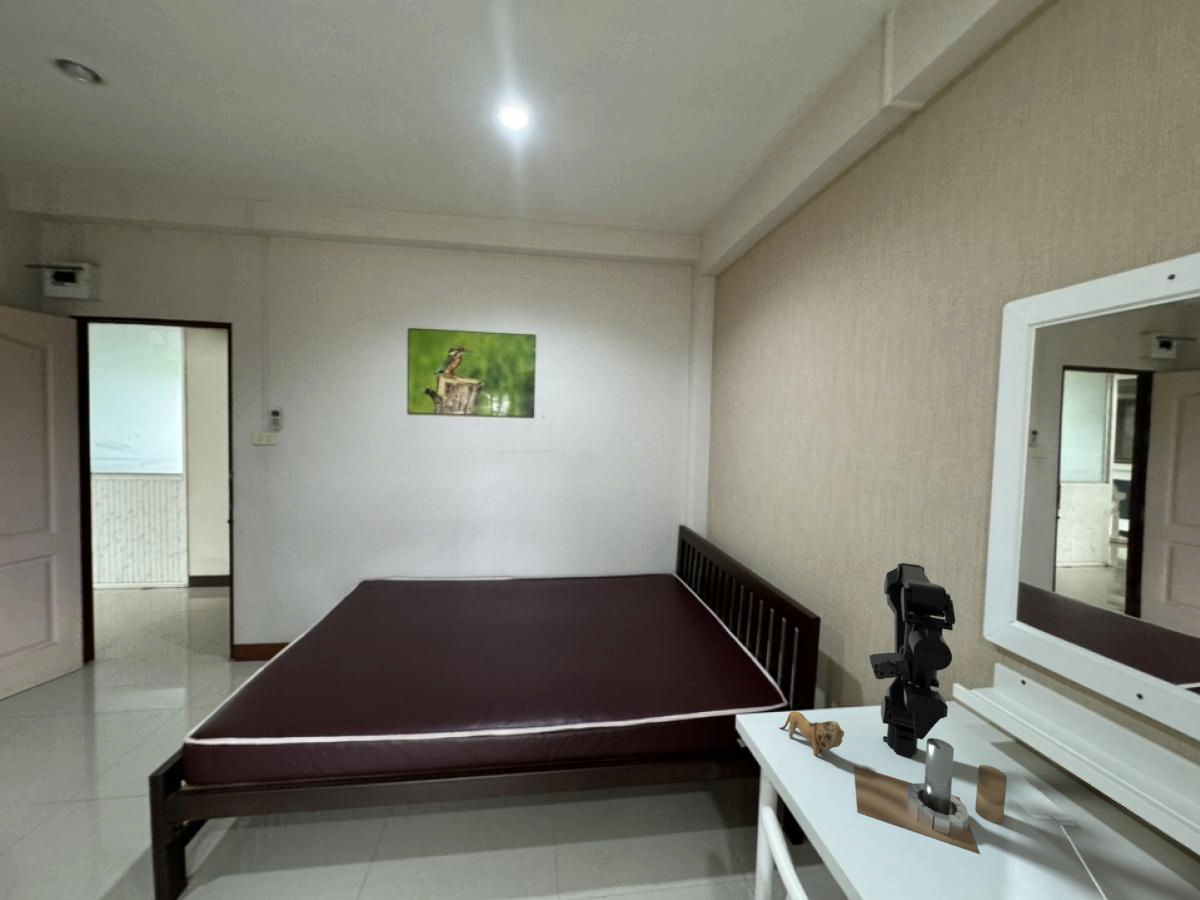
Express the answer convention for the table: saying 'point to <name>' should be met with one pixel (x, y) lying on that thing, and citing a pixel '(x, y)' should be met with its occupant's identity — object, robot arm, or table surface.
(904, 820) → the walnut board
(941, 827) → the grey stone ring
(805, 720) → the lion figurine
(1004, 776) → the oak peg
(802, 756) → the table surface
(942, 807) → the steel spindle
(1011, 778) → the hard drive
